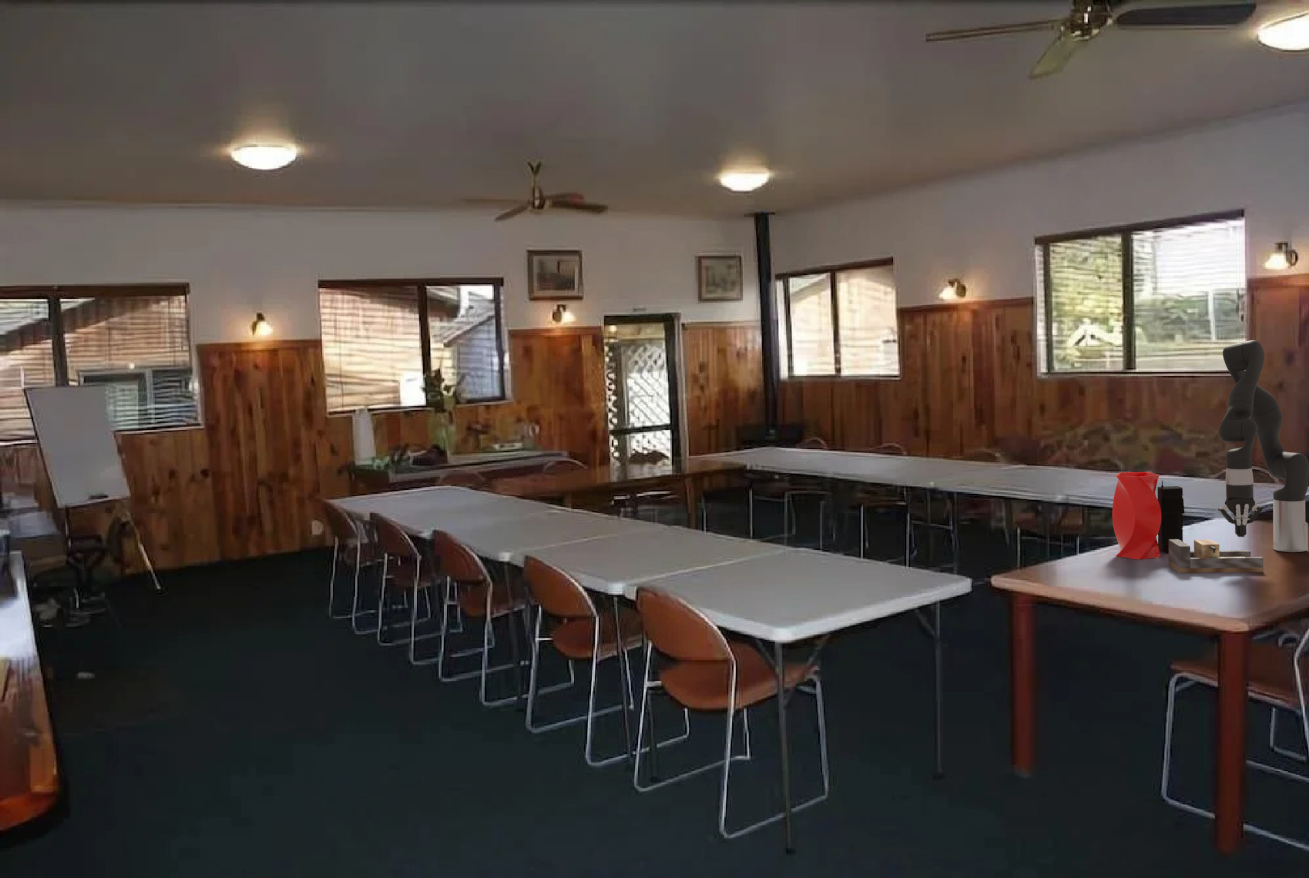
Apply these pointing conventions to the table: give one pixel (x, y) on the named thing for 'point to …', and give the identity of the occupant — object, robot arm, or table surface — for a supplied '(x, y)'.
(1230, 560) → the grey piece
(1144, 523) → the vase
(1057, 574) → the table surface
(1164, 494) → the portable radio
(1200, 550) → the block
